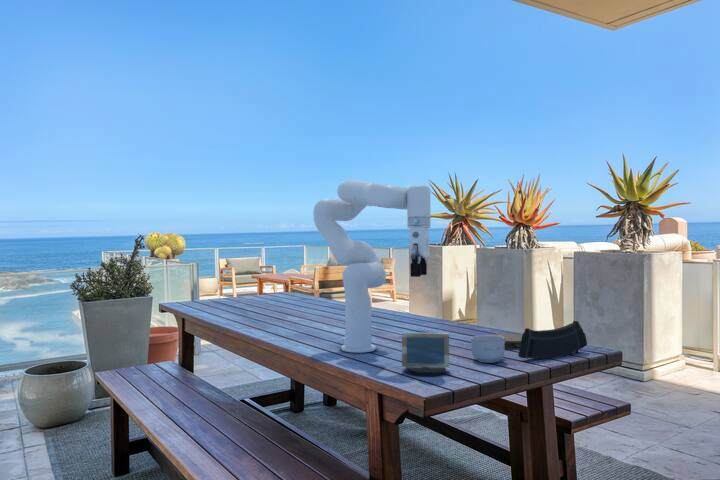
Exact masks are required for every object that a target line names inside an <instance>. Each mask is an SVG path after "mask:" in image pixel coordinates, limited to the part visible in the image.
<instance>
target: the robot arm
mask: <svg viewBox="0 0 720 480" xmlns="http://www.w3.org/2000/svg"><path fill="white" fill-rule="evenodd" d="M336 193H337V196H338V197H339V198H330V197H329V198H321V199H319V200H318V201H317V202H316V203H315V205H314V207H313V212H312V216H313V221H314V225H315V227H316V229H317V231H318V232H319V234H320V235H321V236H322V237H323V239H324V241H325V243H326V244H327V246H328V248H329V250H330V252H331V254H332V256H333V257H334V259H335V261H336V262H337V264H339V265H340V266H345V267H344V269H343V271H342V275H341V277H342V285H343V289H344V290H343V291H344V307H345V308H344V309H345V314H344V315H345V316H344V317H345V319H344V320H345V324H344V325H345V326H344V327H345V330H344V331H345V334H344V336H343V337H341V341H342V342H344V344H343V345H341V346H340V349H341V351H342V352H345V353H353V354H355V353H357V354H362V353H363V354H364V353H371V352H374V351H375V350H377V349H376V348H377V346H376V345H374V344H372V299H371V298H372V297H371V295H370V293H369V291H368V289H375V288H376V289H377V288H380V287H382V286H383V285H384V284H385V283H386V280H387V272H386V269H385V267H384V265H383V263H382V261H381V259H380V258H379V256H378V254H377V253H376V252H375V250H374V248H373V247H372V245H370V244H369V243H368V242H366V241H364V240H354V239H351V237H350V236H349V235H348V233H347V231H346V230H345V228H343V226H341V224H339V223H338V222H350V221H353V220H354V219H355V218H356V217H358V215H359V214H361V212H362V211H363V210H364V209H365V208H366V207H368V206H369V207H377V208H384V209H397V210H407V211H406V213H407V214H406V216H407V217H406V223H407V224H406V227H407V229H409V257H410V277H411V278H415V277H417V278H421V276H427V273H428V271H427V270H428V263H427V259H428V258H429V257H430V256H431V255H430V233H429V229H431V187H429V186H428V185H426V184H425V185H424V184H414V185H409V186H408V187H406V186H399V185H389V184H379V183H375V182H373V181H364V180H356V179H355V180H354V179H346V180H343V181H342V182H341V183H340V184H339V185H338V186H337V189H336Z"/></svg>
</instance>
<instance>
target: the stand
mask: <svg viewBox="0 0 720 480" xmlns="http://www.w3.org/2000/svg"><path fill="white" fill-rule="evenodd" d="M446 370H447V367H405V373H407V374H409V375H412V376H416V377H439V376H443V375H445V374H446V372H447V371H446Z"/></svg>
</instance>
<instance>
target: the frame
mask: <svg viewBox="0 0 720 480" xmlns="http://www.w3.org/2000/svg"><path fill="white" fill-rule="evenodd" d="M401 367H405V368H406V367H445V368H450V333H449V332H406V331H405V332H403V331H402V332H401Z"/></svg>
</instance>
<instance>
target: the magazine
mask: <svg viewBox="0 0 720 480" xmlns="http://www.w3.org/2000/svg"><path fill="white" fill-rule="evenodd" d="M579 322H580V321H577V320H573V321H572V322H571V323H568V324H566V325H564V326H561V327H558V328H557V327H556V328H553V329H543V330H542V329H541V330H533V329H530V328H528V327H526V328H525V329H524V332H523V333H522V334H521V335H522V339H521V344H520V349H518V354H517V356H518V357H519V358H522V359H539V360H540V359H541V360H542V359H543V360H544V359H555V358H560V357H564V356H568V355H570V354H572V353H577V354H579V351H580V350H582V349H583V348H585V347H587V345H588V341H587V336H586V333H585V331H584V329H583V327H582V326H581V323H579Z"/></svg>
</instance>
